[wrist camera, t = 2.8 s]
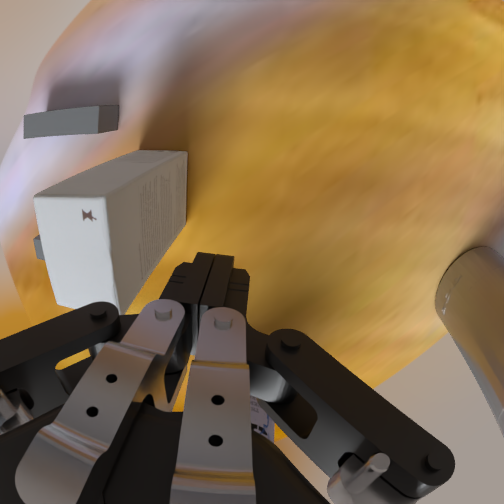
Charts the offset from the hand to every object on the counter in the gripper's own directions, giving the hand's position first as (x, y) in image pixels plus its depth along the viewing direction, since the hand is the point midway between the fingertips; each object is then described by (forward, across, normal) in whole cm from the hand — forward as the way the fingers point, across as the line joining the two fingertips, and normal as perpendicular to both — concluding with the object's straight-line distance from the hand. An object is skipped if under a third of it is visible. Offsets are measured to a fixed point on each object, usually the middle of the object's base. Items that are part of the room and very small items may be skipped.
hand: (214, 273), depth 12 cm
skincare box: (+11, +6, 0) cm, 13 cm away
